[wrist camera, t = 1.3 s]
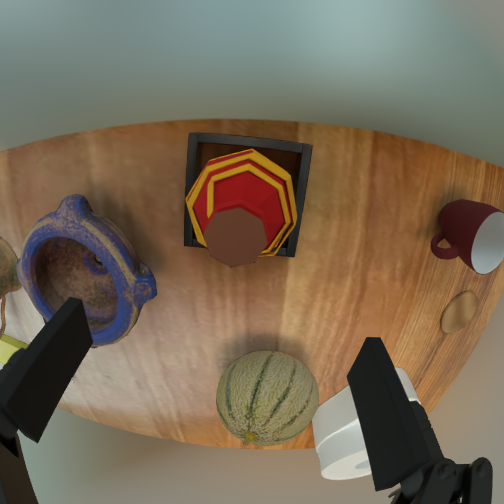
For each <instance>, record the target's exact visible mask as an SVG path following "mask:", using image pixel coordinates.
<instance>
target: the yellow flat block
mask: <svg viewBox="0 0 504 504" xmlns="http://www.w3.org/2000/svg"><path fill="white" fill-rule="evenodd" d="M28 346H29V345H27V344H24V343H22V342H20V341H17V340H15V339H13V338H11V337H9V336H7V335H4V334H3V335H2V337H1V339H0V363H1V364H3V365H5V364H6V363H7V361H8V360H9V358H10V357H11V356H12V354H13V353H14V352H16V351H17V350H19V349H20V348H22V347H23V348H25V349H26V348H27V347H28Z"/></svg>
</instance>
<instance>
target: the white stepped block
mask: <svg viewBox="0 0 504 504" xmlns="http://www.w3.org/2000/svg"><path fill="white" fill-rule="evenodd" d="M395 369H396V372H397V374H398V376H399V378H400V380H401V383H402V385H403V387H404V389H405V392H406V394H407V396H408V399H409V401H415V400H417V401H418V402H419V403H420V401H419V399H418V396H417V394H416V392H415V390H414V388H413V385H412V383H411V381H410V379H409V377H408V375H407V373H406V371H405V370H404V369H402V368H399V367H395ZM420 405H421V404H420ZM312 426H313V433H314V440H315V448H316V453H317V454H318V455H319V460H320V467H321V474H322V476H323V477H324V478H326V479H331V480H344V479H352V478H357V477H361V476H365V475H368V474H372V472H371V467H370V463H369V459H368V455H367V450H366V446H365V442H364V438H363V434H362V430H361V427H360V423H359V419H358V415H357V411H356V408H355V404H354V401H353V397H352V393H351V390H350V386H349V385H348V386H347V387H345V388H344V389H343V390H341V391H340V392H339V393H337V394H336V395H334V396H333V397H331V398H330V399H329V400H327V401H326V402H324V403H323V404H322V405H321V406H319V407H318V409H317V410H316V412H315V414H314V416H313V418H312Z"/></svg>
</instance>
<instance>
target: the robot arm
mask: <svg viewBox="0 0 504 504" xmlns="http://www.w3.org/2000/svg"><path fill="white" fill-rule="evenodd" d="M92 344H93V339H92V336H91V332H90V329H89V325H88V321H87V317H86V313H85V309H84V305H83V301H82V299H78V298H74V297H69V298H68V299H67V300H66V301H65V303H64V304H63V305H62V306H61V307H60V308H59V309H58V310H57V312H56V313H55V314H54V315H53V316H52V317H51V319H50V320H49V321H48V322H47V323H46V325H45V326H44V327H43V328H42V329H41V331H40V332H39V333H38V334H37V336H36V337H35V338H34V339H33V341H32V342H31V343H30V344H29V346H28V347H27V348H26V349H25V348H23V347H22V348H20V349H19V350H17V351H16V352H14V353H13V354H12V356H11V357H10V358H9V360H8V361H7V363H6V364H5V365H4V366H3V369H1V370H0V504H38V501H37V498H36V496H35V493H34V490H33V487H32V484H31V481H30V478H29V475H28V471H27V468H26V465H25V461H24V457H23V453H22V449H21V445H20V440H19V436H18V434H17V430H18V429H19V430H20V431H21V432H22V433H23V434H24V435H25V436H26V437H28V438H29V439H31V440H33V441H35V442H36V443H38V442H39V440H40V438H41V436H42V434H43V431H44V430H45V427H46V426H47V423H48V422H49V420H50V418H51V416H52V414H53V412H54V410H55V408H56V406H57V404H58V402H59V401H60V399H61V397H62V395H63V393H64V391H65V390H66V388H67V386H68V384H69V383H70V381H71V379H72V377H73V376H74V374H75V372H76V370H77V369H78V367H79V365H80V364H81V362H82V360H83V359H84V357H85V355H86V354H87V352H88V350H89V349H90V347H91V346H92ZM347 380H348V383H349V386H350V390H351V393H352V397H353V401H354V404H355V408H356V411H357V415H358V419H359V423H360V427H361V430H362V434H363V438H364V442H365V446H366V450H367V455H368V459H369V463H370V467H371V472H372V476H373V481H374V485H375V490H376V491H380V490H384V489H388V488H392V487H394V486H395V485H397V484H398V483H400V485H401V487H400V488H399V489H397V490H395V491H394V492H392V493H391V494H390V495H389V496H388V497H389V498H390V497H392V496H394V495H395V497H394V498H393V500H392V502H391V504H491V499H492V477H493V476H492V475H493V474H492V472H493V470H492V465H491V463H490V461H489V460H488V459H487V458H484V457H481V458H478V459H477V460H475V461H474V462H473V463H471V464H455V462H454V461H452V460H451V459H447V458H445V457H444V456H443V454H442V451H441V449H440V446H439V443H438V441H437V438H436V436H435V433H434V431H433V428H431V424H430V421H429V420H428V416H427V414H426V412H425V409H424V408H423V407H422V406H421V405H420V403H419V402H418V401H417V400H415V401H409V399H408V396H407V394H406V392H405V389H404V387H403V385H402V383H401V380H400V378H399V376H398V374H397V372H396V369H395V367H394V365H393V363H392V361H391V359H390V356H389V354H388V352H387V350H386V348H385V346H384V344H383V342H382V340H381V338H380V337H366V339H365V341H364V343H363V346H362V348H361V350H360V352H359V354H358V356H357V358H356V360H355V362H354V364H353V365H352V367H351V369H350V371H349V373H348V375H347ZM461 497H462V503H460V498H461Z"/></svg>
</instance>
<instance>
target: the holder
mask: <svg viewBox="0 0 504 504" xmlns="http://www.w3.org/2000/svg"><path fill="white" fill-rule="evenodd" d="M203 143H212V144H226V145H238V146H248V147H258V148H267V149H275V150H282V151H290V152H297V153H298V154H297V162H296V169H295V176H294V183H293V192H294V199H295V205H296V212H297V220H296V224H295V226H294V228H293V229H292V231H291V232H290V234H289V235H288V236H287V238H286V239H285V241H284V242H283V244H282V245H281V247H280V248H279V250H278V252H277V253H276V254H275V256H286V257H295V251H296V246H297V241H298V235H299V229H300V224H301V218H302V212H303V206H304V200H305V194H306V187H307V181H308V174H309V168H310V161H311V154H312V147H313V146H312V145H309V144H304V143H297V142H291V141H283V140H276V139H268V138H259V137H250V136H239V135H227V134H212V133H189V139H188V152H187V168H186V187H185V199H186V197H187V196H188V194H189V192H190V191H191V189H192V187H193V186H194V184H195V182H196V181H197V179H198V177H199V176H200V174H201V160H202V148H203ZM292 223H293V221H292V222H291V223H290V225H289V226H288V228H287V229H286V233H287V232H288V230H289V228H290V226H291V225H292ZM282 240H283V239H280V241H279V243H278V245H277V246H276V247H275V248H273V249H272V250H271V251H270V252H268V253H271V252H275V251H276V250H277V248H278V247H279V245H280V244H281V242H282ZM184 246H189V247H192V246H193V247H199V248H207V247H206V246H204V245H202V244H201V243H199V242H198V241H197V237H196V234H195V231H194V227H193V224H192V221H191V217H190V214H189V210H188V207H187V203H186V200H185V214H184ZM263 254H266V253H263Z"/></svg>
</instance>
